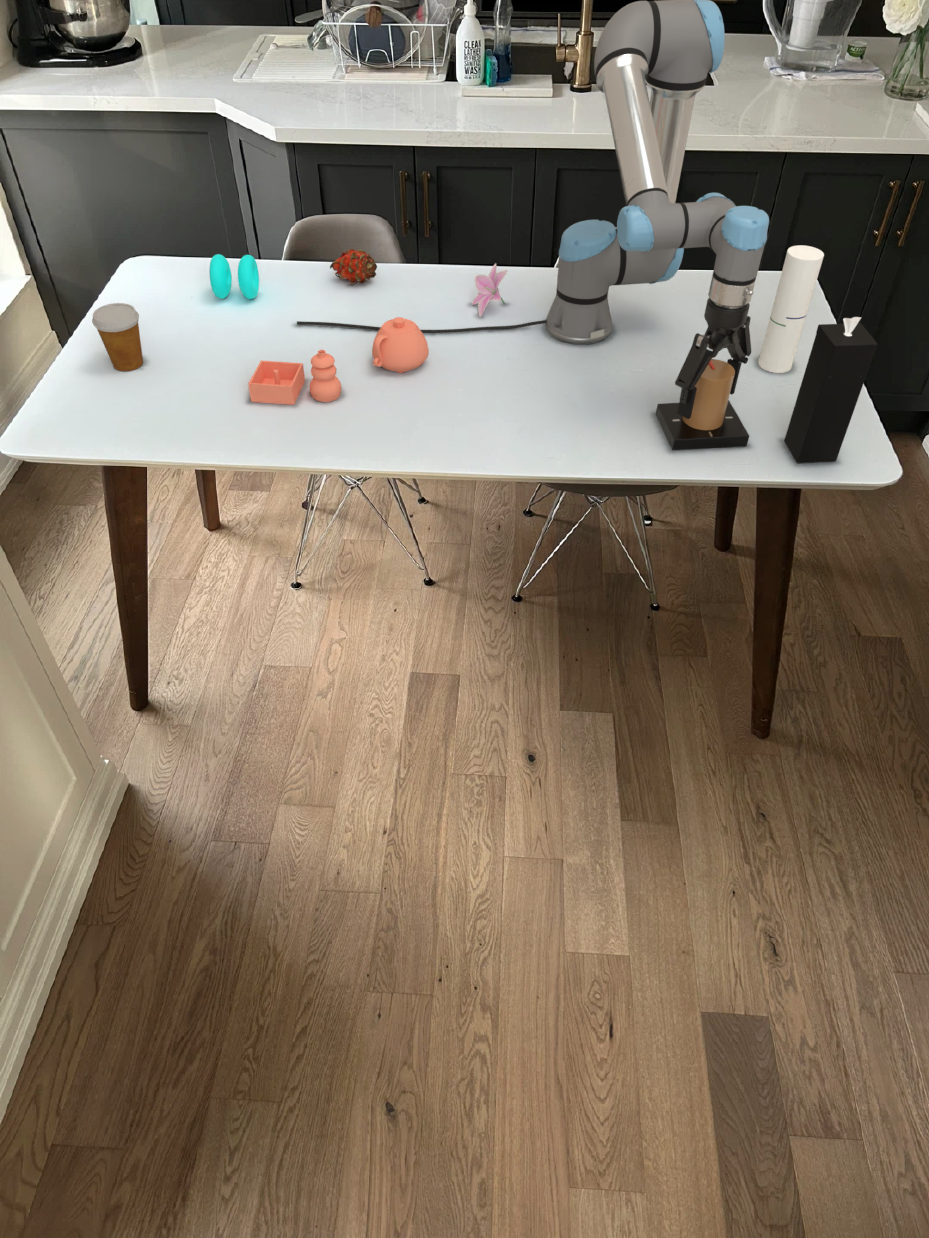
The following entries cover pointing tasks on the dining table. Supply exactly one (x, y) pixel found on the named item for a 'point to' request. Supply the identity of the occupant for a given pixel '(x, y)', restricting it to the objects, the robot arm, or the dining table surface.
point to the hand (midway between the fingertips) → (705, 403)
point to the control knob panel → (692, 438)
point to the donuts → (223, 279)
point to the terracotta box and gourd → (294, 381)
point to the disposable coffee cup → (120, 335)
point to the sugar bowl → (399, 346)
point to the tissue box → (829, 390)
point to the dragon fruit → (354, 266)
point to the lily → (488, 288)
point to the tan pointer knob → (711, 396)
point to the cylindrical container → (790, 308)
